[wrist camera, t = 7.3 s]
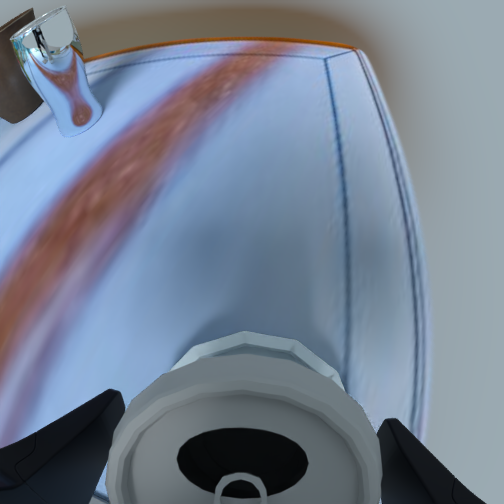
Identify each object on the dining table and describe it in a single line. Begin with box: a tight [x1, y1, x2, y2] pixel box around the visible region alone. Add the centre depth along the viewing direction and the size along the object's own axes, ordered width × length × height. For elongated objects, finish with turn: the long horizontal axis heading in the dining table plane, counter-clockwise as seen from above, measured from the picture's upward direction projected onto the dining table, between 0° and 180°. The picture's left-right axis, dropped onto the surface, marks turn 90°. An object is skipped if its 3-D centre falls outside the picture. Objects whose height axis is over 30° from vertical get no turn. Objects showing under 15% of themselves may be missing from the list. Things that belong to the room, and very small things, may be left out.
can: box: [105, 354, 383, 504], centre depth 10 cm, size 8×8×12 cm
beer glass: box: [9, 6, 103, 137], centre depth 22 cm, size 7×7×15 cm
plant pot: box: [0, 8, 43, 124], centre depth 26 cm, size 15×15×16 cm
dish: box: [169, 331, 345, 391], centre depth 15 cm, size 11×11×2 cm
